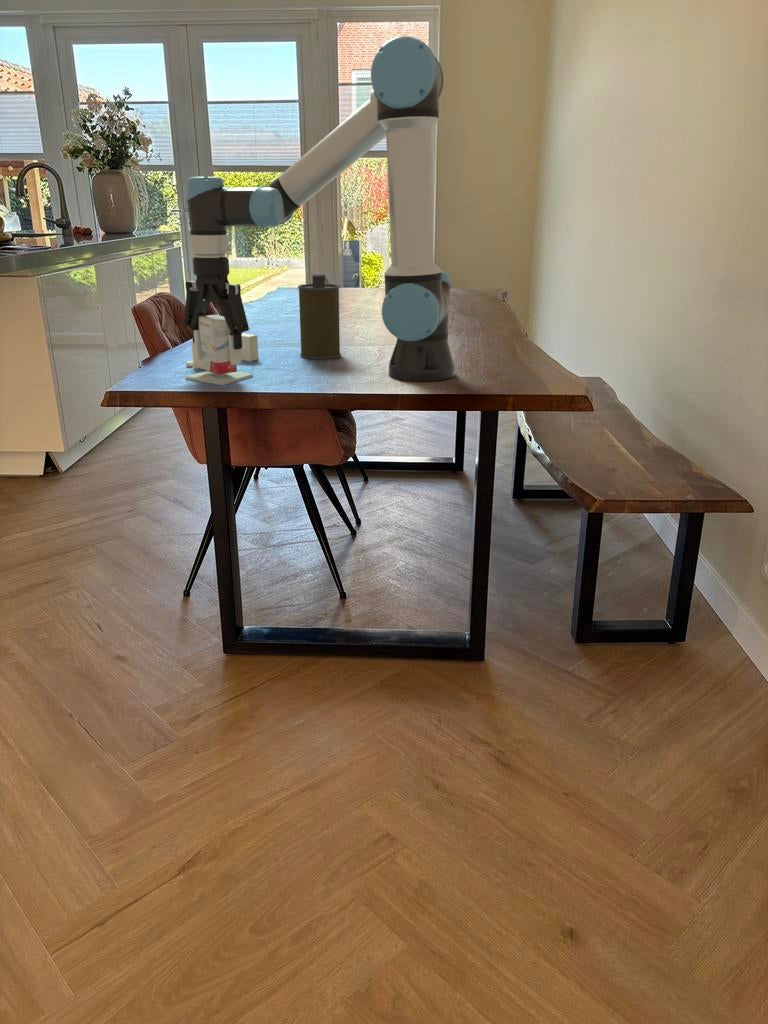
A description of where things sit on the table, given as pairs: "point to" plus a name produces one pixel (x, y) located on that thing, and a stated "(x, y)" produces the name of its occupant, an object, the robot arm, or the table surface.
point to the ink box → (215, 344)
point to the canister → (319, 319)
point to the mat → (219, 377)
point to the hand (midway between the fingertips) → (218, 361)
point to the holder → (247, 351)
